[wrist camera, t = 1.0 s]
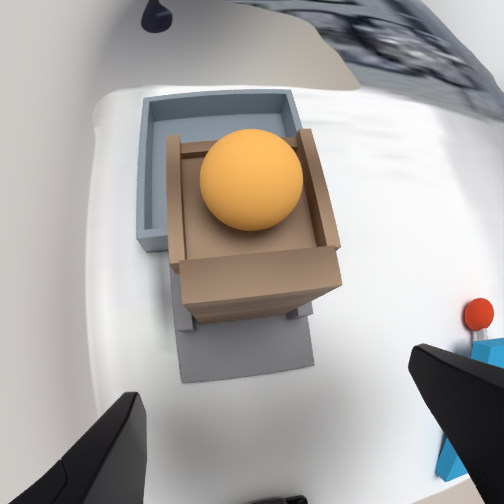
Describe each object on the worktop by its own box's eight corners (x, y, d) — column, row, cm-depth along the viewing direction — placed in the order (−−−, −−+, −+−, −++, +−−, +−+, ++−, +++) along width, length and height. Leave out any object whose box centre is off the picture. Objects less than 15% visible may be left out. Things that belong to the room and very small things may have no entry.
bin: (313, 236, 26) (326, 221, 23) (146, 252, 25) (136, 238, 21) (284, 112, 30) (290, 89, 27) (149, 121, 28) (143, 98, 25)
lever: (454, 439, 26) (489, 296, 27) (487, 463, 19) (534, 303, 20) (412, 451, 26) (449, 295, 26) (444, 482, 19) (498, 303, 19)
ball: (298, 240, 14) (327, 199, 10) (205, 249, 13) (200, 208, 9) (282, 162, 15) (301, 107, 11) (199, 168, 14) (195, 110, 10)
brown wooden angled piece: (290, 313, 22) (351, 283, 12) (194, 324, 21) (171, 305, 11) (274, 215, 24) (312, 125, 14) (186, 223, 23) (165, 131, 13)
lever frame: (310, 364, 23) (329, 368, 19) (183, 381, 22) (175, 389, 18) (291, 244, 26) (305, 224, 22) (170, 256, 25) (161, 237, 20)
